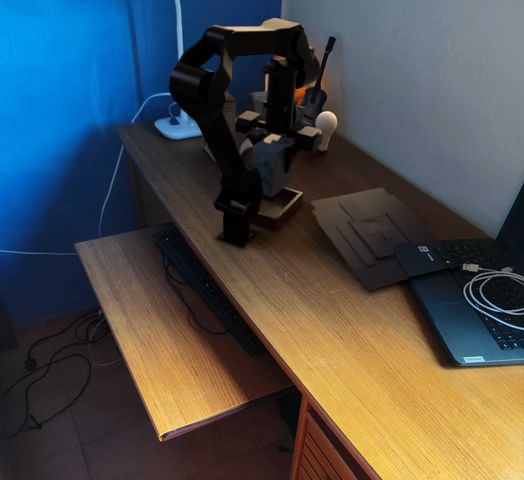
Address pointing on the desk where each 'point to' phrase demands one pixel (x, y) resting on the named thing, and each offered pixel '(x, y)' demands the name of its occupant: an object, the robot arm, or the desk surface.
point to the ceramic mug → (247, 152)
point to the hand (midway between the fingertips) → (275, 169)
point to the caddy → (277, 208)
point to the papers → (370, 232)
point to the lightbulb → (326, 127)
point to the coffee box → (227, 118)
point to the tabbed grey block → (271, 163)
